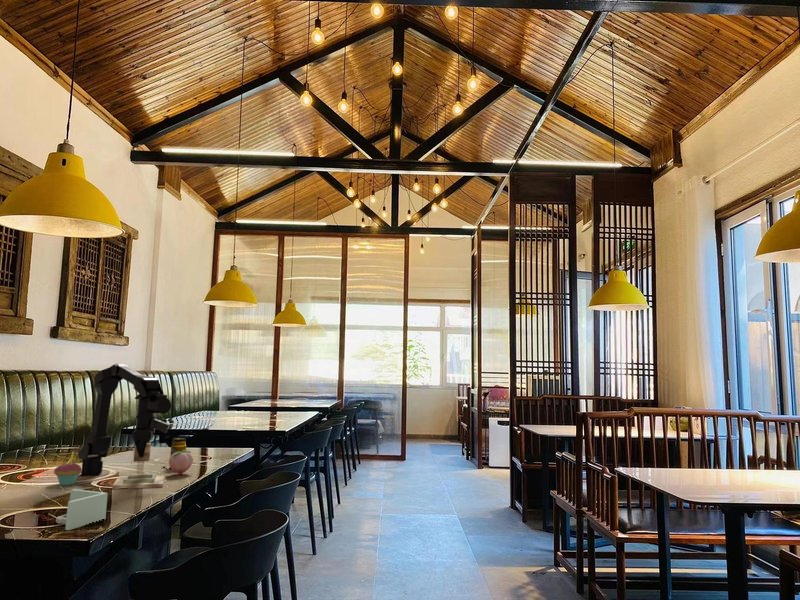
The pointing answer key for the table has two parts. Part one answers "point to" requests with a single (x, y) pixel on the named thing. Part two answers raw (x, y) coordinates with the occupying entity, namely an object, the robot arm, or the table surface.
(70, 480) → the cupcake
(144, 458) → the block
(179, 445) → the condiment
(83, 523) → the l-shaped corner panel
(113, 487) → the board
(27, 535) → the table surface
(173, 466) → the decorative fruit
